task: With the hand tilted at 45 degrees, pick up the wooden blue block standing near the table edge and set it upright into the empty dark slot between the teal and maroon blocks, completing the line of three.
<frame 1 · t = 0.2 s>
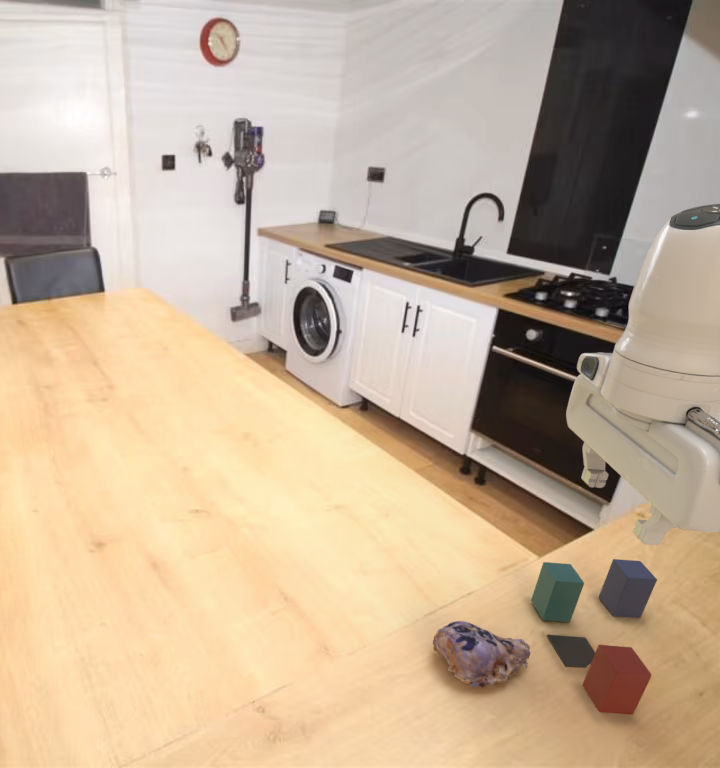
hand: (616, 509, 56), 25 cm above the table, tool pointing down, fingers open, 8 cm apart
block line: (575, 652, 69), on the table
blue block: (618, 607, 76), on the table
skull: (479, 667, 67), on the table
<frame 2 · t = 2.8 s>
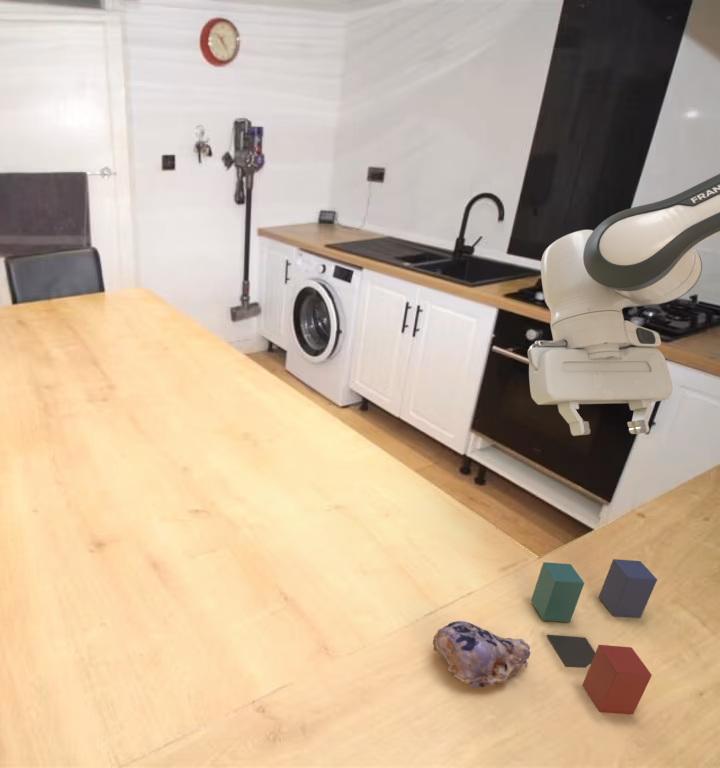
hand: (610, 434, 76), 23 cm above the table, tool tilted 35°, fingers open, 8 cm apart
nothing on the table moved.
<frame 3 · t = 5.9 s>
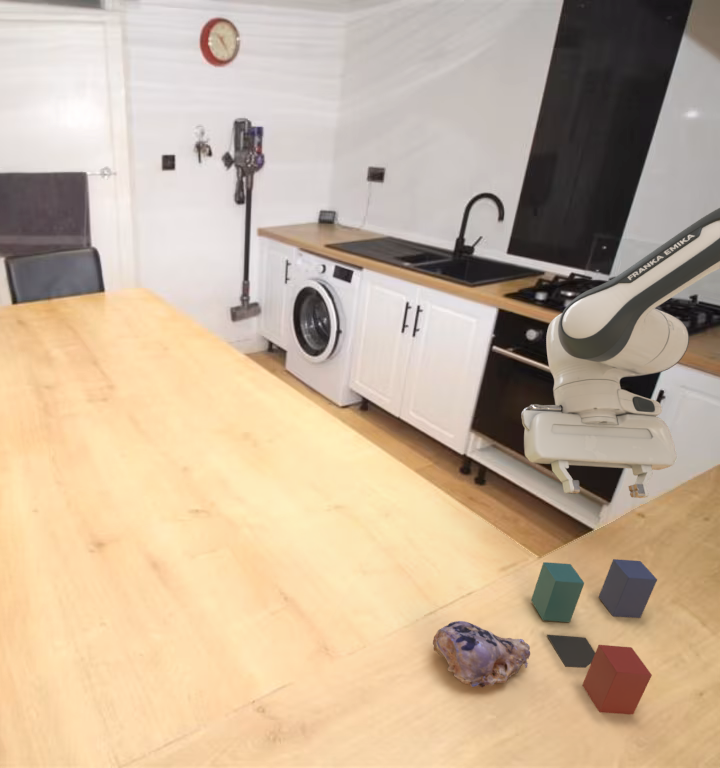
hand: (606, 495, 80), 12 cm above the table, tool tilted 45°, fingers open, 8 cm apart
nothing on the table moved.
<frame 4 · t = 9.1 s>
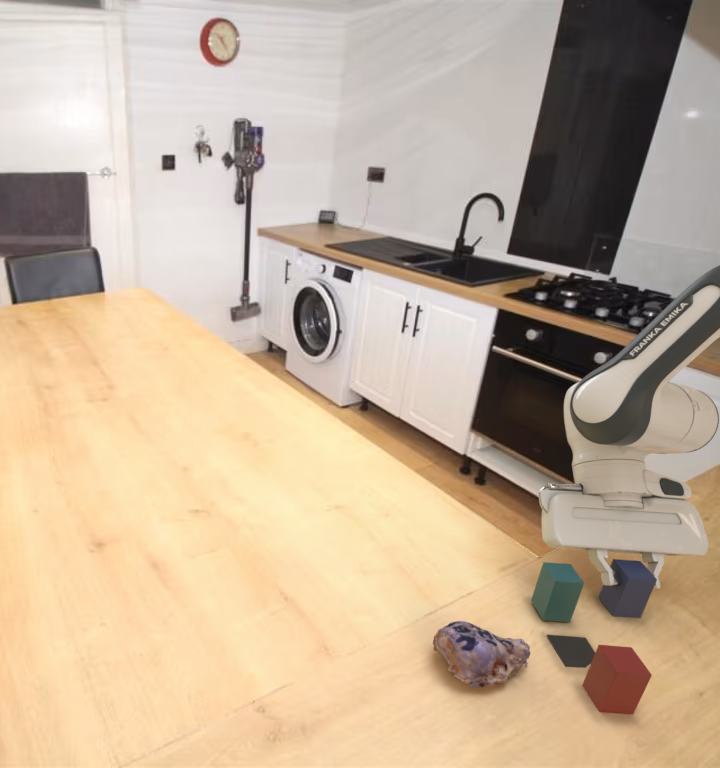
hand: (631, 587, 74), 4 cm above the table, tool tilted 45°, fingers closed on blue block, 3 cm apart
blue block: (618, 607, 76), on the table, touching gripper
everything else where it was.
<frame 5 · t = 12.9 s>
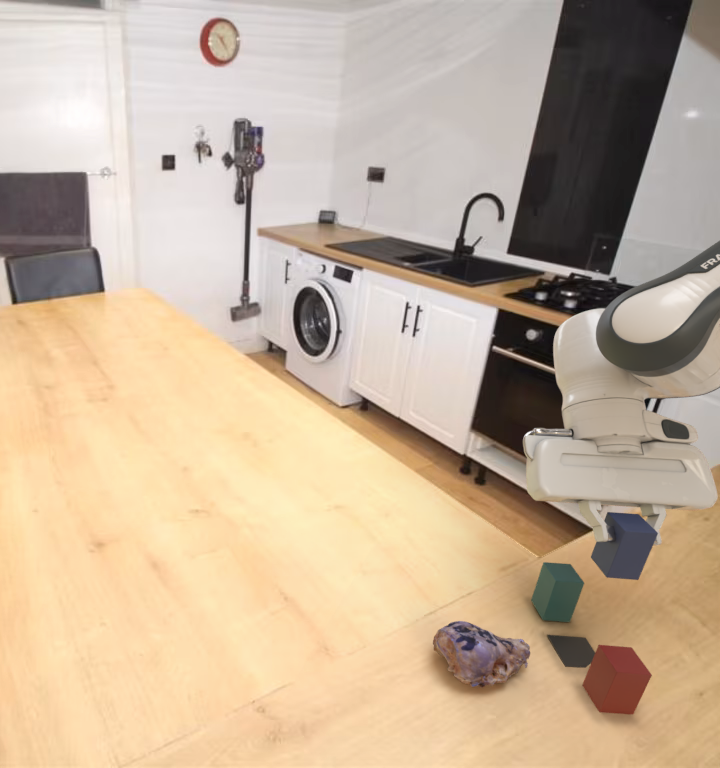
hand: (628, 543, 64), 16 cm above the table, tool tilted 45°, fingers closed on blue block, 3 cm apart
blue block: (613, 568, 66), point 12 cm above the table, touching gripper
everything else where it was.
when the fingers open (4 cm above the table, at t = 16.8 s): blue block stays where it is, resting on block line.
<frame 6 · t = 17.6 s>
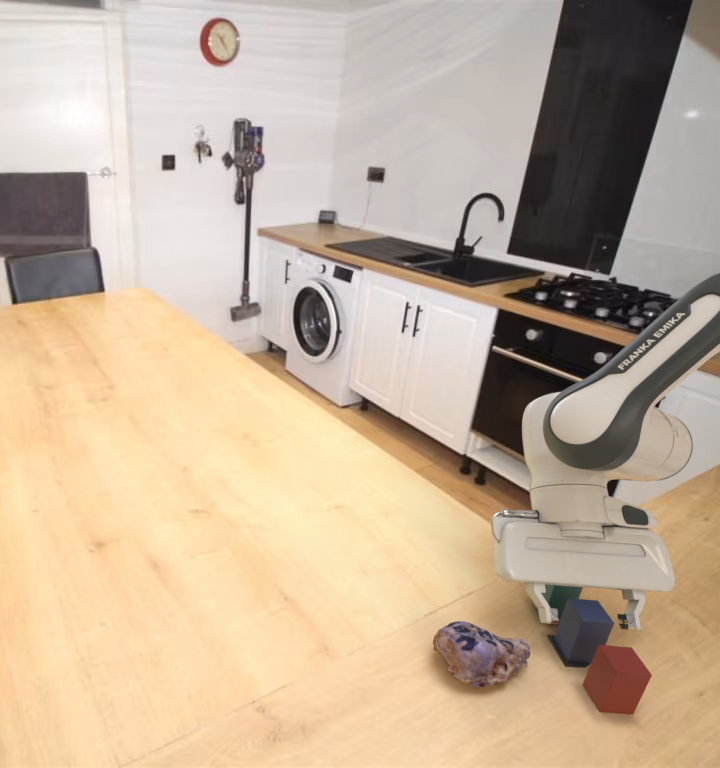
hand: (590, 626, 67), 5 cm above the table, tool tilted 45°, fingers open, 8 cm apart
blue block: (574, 651, 69), resting on block line
everything else where it was.
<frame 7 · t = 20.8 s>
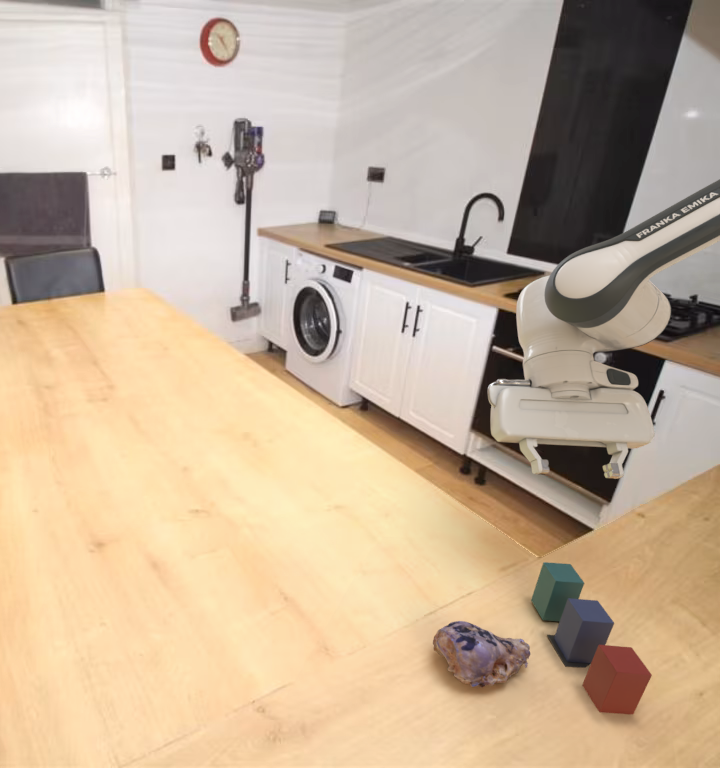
hand: (577, 475, 73), 19 cm above the table, tool tilted 45°, fingers open, 8 cm apart
nothing on the table moved.
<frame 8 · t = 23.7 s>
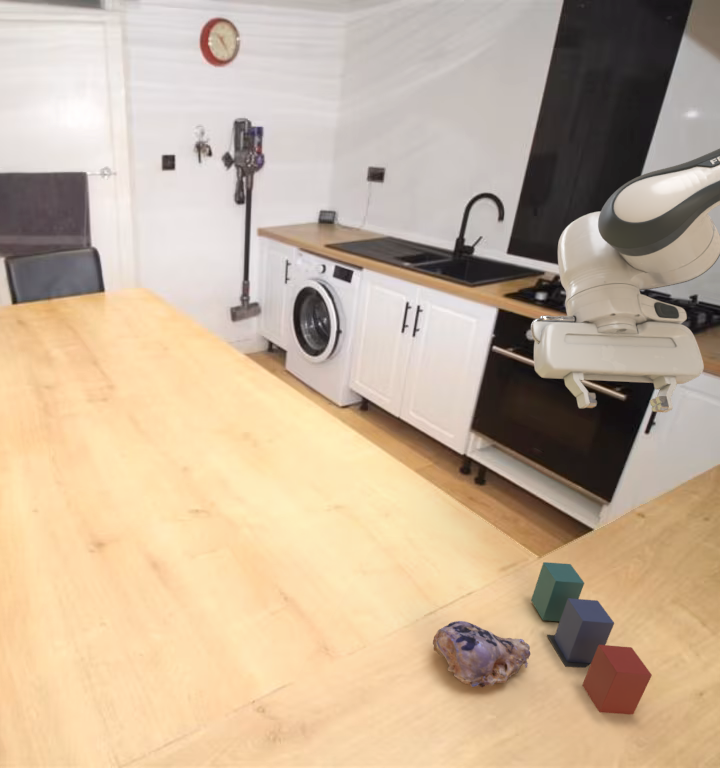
hand: (625, 409, 72), 27 cm above the table, tool tilted 45°, fingers open, 8 cm apart
nothing on the table moved.
at the end: blue block 0.1 cm off-centre on the block line, point 0.2 cm above the block line's base; blue block tilted 0°; the gripper is holding nothing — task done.
